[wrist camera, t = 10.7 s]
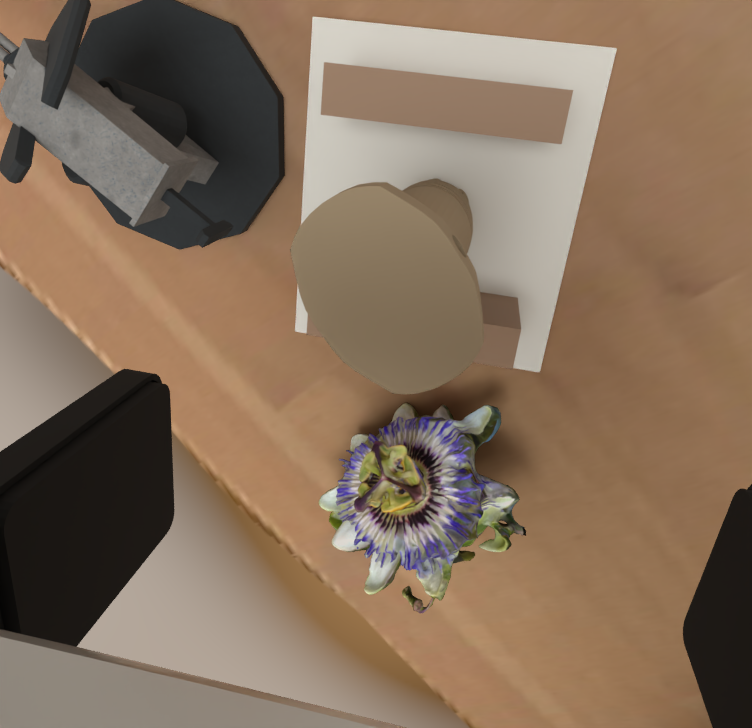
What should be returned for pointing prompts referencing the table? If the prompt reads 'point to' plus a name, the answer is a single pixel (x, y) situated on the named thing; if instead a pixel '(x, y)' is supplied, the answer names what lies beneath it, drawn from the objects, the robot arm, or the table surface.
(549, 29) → the table surface
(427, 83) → the white base with blocks
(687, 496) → the table surface
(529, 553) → the table surface
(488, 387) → the table surface
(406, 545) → the passion flower
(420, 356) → the handle
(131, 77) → the gun turret
